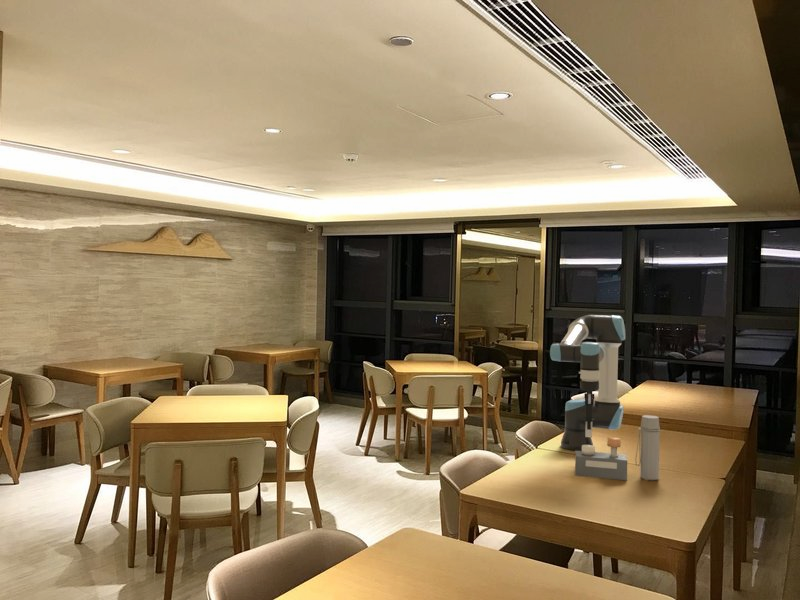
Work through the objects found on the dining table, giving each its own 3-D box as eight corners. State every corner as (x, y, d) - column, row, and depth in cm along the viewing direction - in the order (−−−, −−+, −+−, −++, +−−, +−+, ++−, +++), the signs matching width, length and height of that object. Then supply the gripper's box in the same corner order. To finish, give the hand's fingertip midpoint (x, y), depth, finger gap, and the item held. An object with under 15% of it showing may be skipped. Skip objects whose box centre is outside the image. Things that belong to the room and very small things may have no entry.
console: (575, 469, 271) (575, 450, 271) (625, 473, 265) (625, 454, 265) (575, 475, 261) (575, 456, 261) (627, 480, 255) (627, 460, 255)
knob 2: (606, 463, 265) (607, 436, 265) (619, 464, 264) (620, 437, 264) (607, 466, 260) (607, 439, 260) (620, 467, 259) (621, 440, 259)
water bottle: (655, 476, 263) (657, 415, 263) (661, 481, 255) (663, 419, 255) (632, 475, 264) (633, 414, 263) (637, 480, 256) (639, 418, 256)
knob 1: (581, 470, 268) (581, 444, 268) (594, 471, 266) (594, 445, 266) (581, 473, 263) (581, 447, 263) (594, 474, 261) (595, 448, 261)
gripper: (580, 377, 272) (579, 432, 272) (580, 381, 259) (579, 439, 260) (598, 378, 270) (597, 434, 270) (599, 382, 257) (598, 441, 258)
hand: (588, 436), depth 265 cm, fingers closed
